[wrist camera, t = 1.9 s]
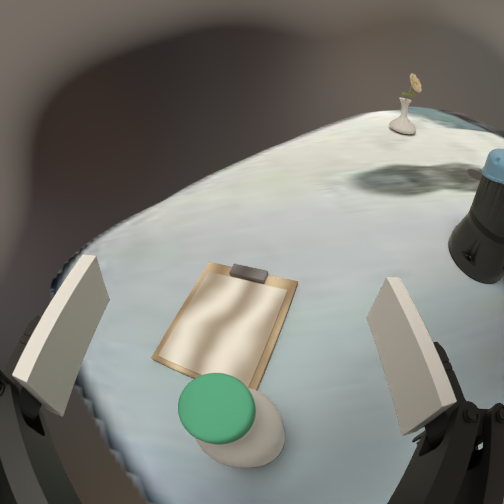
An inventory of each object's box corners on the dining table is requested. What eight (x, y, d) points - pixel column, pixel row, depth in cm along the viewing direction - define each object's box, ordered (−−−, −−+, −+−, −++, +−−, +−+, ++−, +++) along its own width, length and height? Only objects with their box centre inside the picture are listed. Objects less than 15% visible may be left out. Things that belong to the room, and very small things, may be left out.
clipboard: (297, 284, 44) (297, 277, 43) (252, 400, 32) (251, 397, 30) (210, 265, 50) (208, 258, 48) (153, 359, 37) (148, 355, 36)
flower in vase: (400, 137, 84) (405, 74, 66) (383, 126, 92) (386, 68, 74) (423, 136, 85) (430, 78, 67) (406, 126, 93) (410, 71, 75)
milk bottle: (292, 457, 26) (299, 448, 11) (230, 472, 25) (162, 474, 11) (274, 404, 31) (260, 334, 17) (216, 419, 30) (146, 361, 16)
